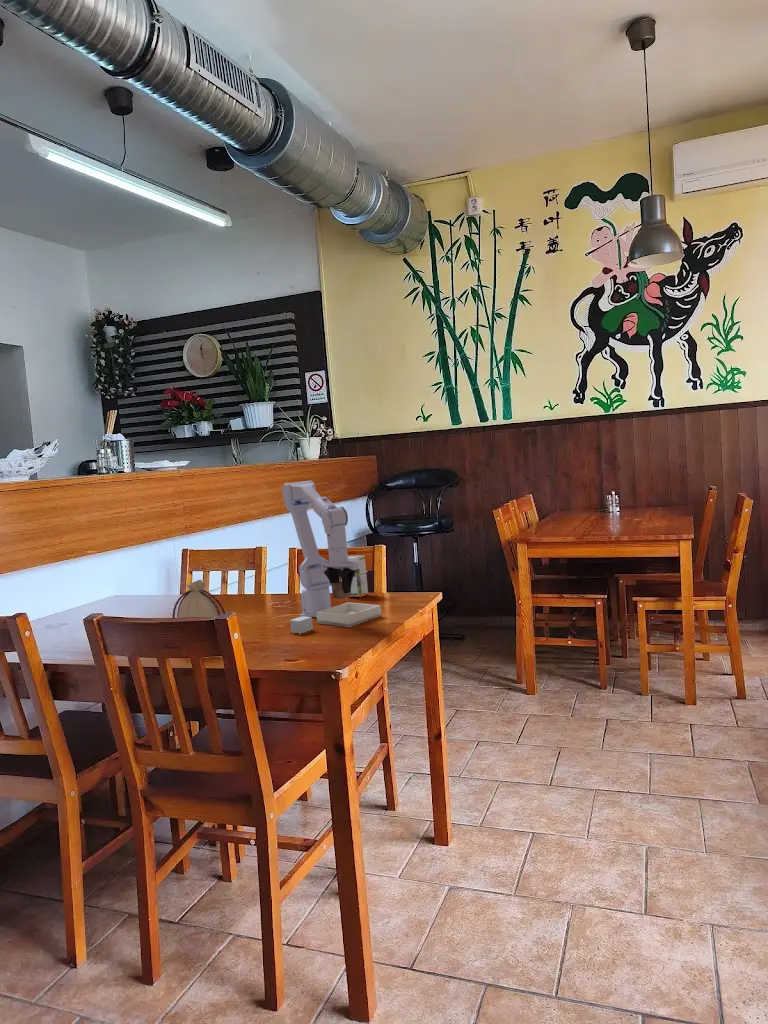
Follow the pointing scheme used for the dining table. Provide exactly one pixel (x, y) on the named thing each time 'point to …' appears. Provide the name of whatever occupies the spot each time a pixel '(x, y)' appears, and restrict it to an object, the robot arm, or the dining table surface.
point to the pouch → (197, 602)
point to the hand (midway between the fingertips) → (341, 592)
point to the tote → (348, 614)
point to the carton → (301, 624)
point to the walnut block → (339, 591)
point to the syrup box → (359, 576)
